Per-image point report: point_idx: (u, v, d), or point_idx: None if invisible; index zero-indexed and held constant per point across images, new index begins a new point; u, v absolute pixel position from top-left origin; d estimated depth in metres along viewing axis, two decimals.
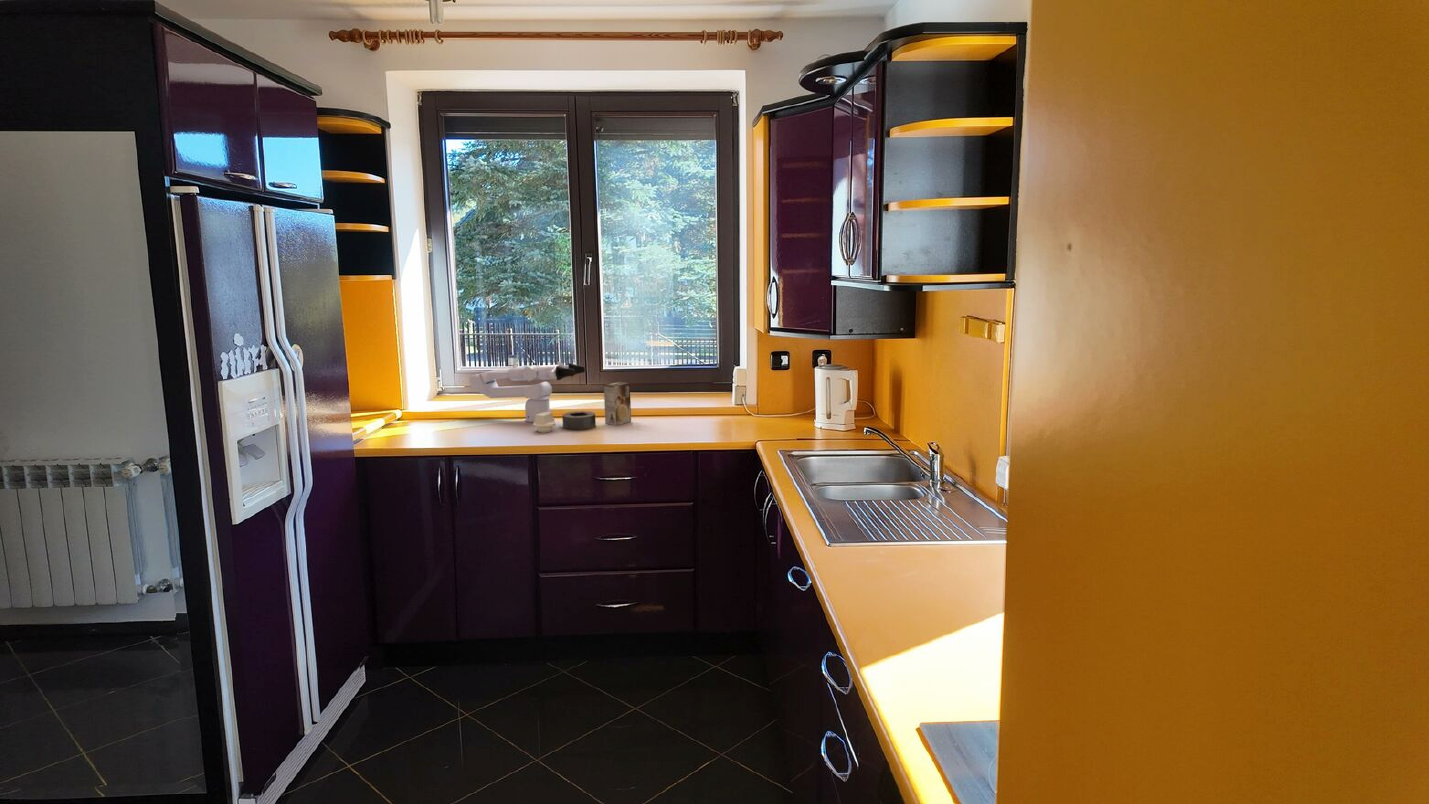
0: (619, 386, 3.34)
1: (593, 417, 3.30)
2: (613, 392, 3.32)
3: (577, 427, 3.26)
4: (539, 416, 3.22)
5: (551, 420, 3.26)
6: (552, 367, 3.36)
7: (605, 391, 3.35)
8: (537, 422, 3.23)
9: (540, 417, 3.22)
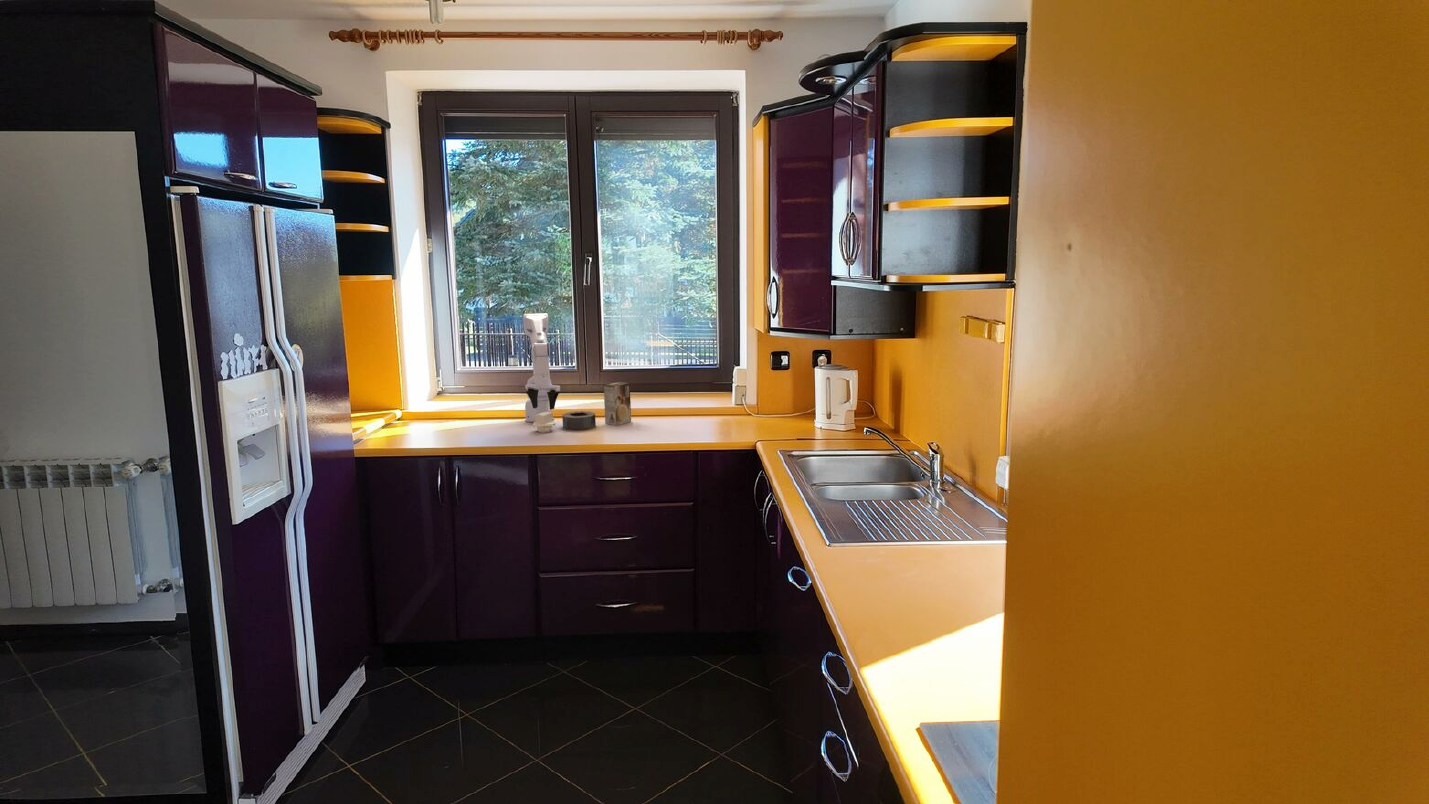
0: (619, 386, 3.34)
1: (593, 417, 3.30)
2: (613, 392, 3.32)
3: (577, 427, 3.26)
4: (539, 416, 3.22)
5: (551, 420, 3.26)
6: (535, 380, 3.21)
7: (605, 391, 3.35)
8: (537, 422, 3.23)
9: (540, 417, 3.22)
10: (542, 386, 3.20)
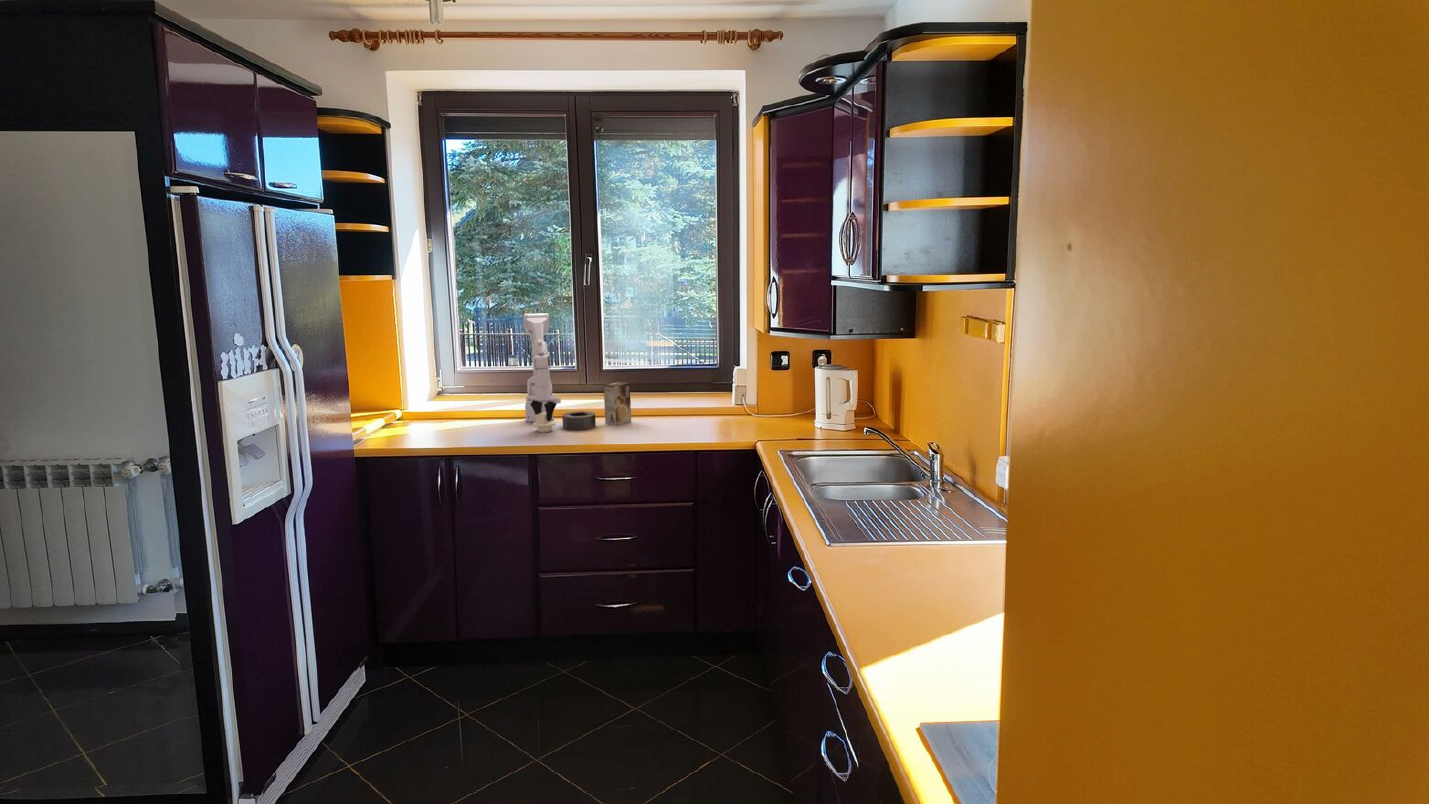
0: (619, 386, 3.34)
1: (593, 417, 3.30)
2: (613, 392, 3.32)
3: (577, 427, 3.26)
4: (539, 416, 3.22)
5: (551, 420, 3.26)
6: (535, 392, 3.22)
7: (605, 391, 3.35)
8: (537, 422, 3.23)
9: (540, 417, 3.22)
10: (543, 398, 3.20)
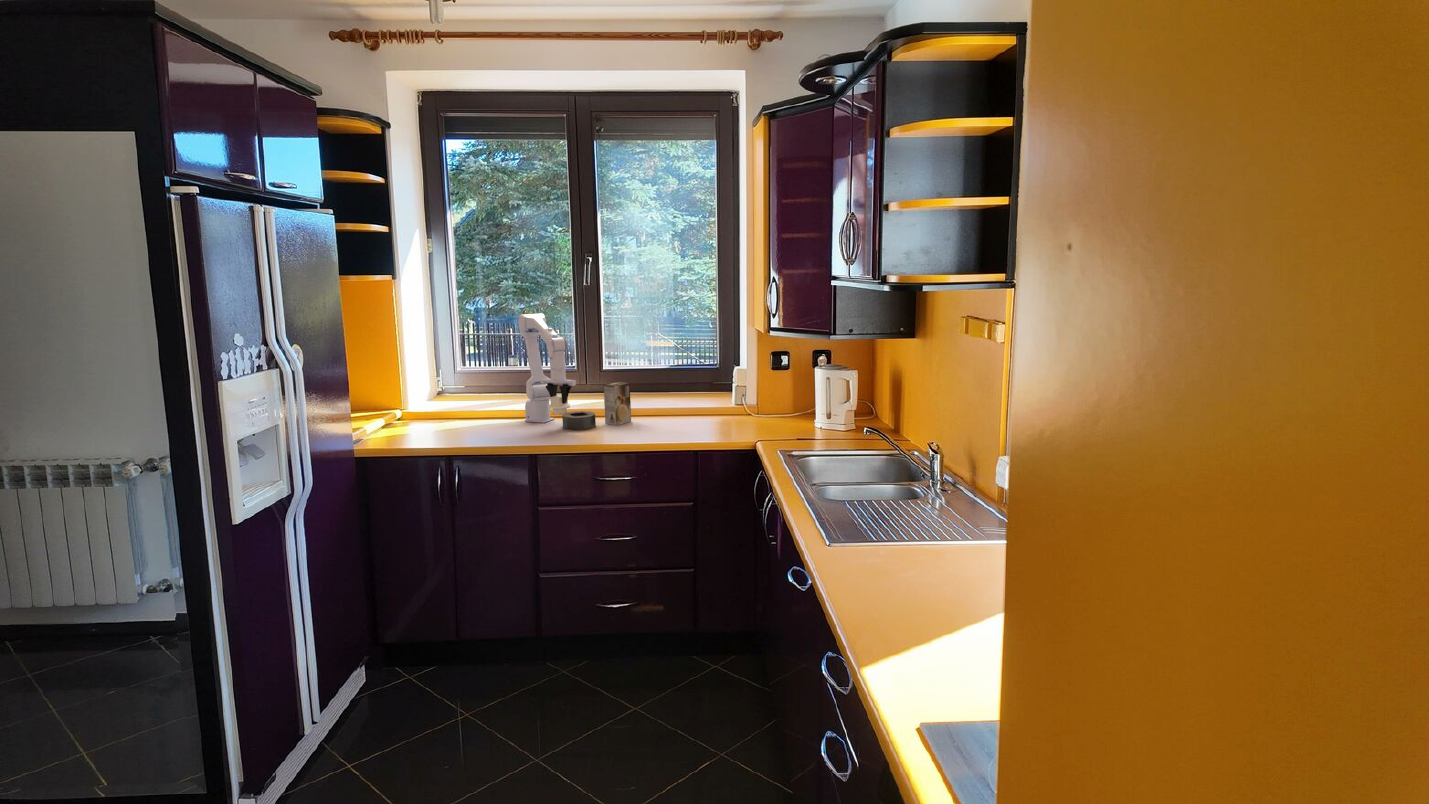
0: (619, 386, 3.34)
1: (593, 417, 3.30)
2: (613, 392, 3.32)
3: (577, 427, 3.26)
4: (554, 399, 3.24)
5: (566, 403, 3.28)
6: (551, 375, 3.24)
7: (605, 391, 3.35)
8: (552, 404, 3.25)
9: (555, 399, 3.24)
10: (558, 380, 3.22)
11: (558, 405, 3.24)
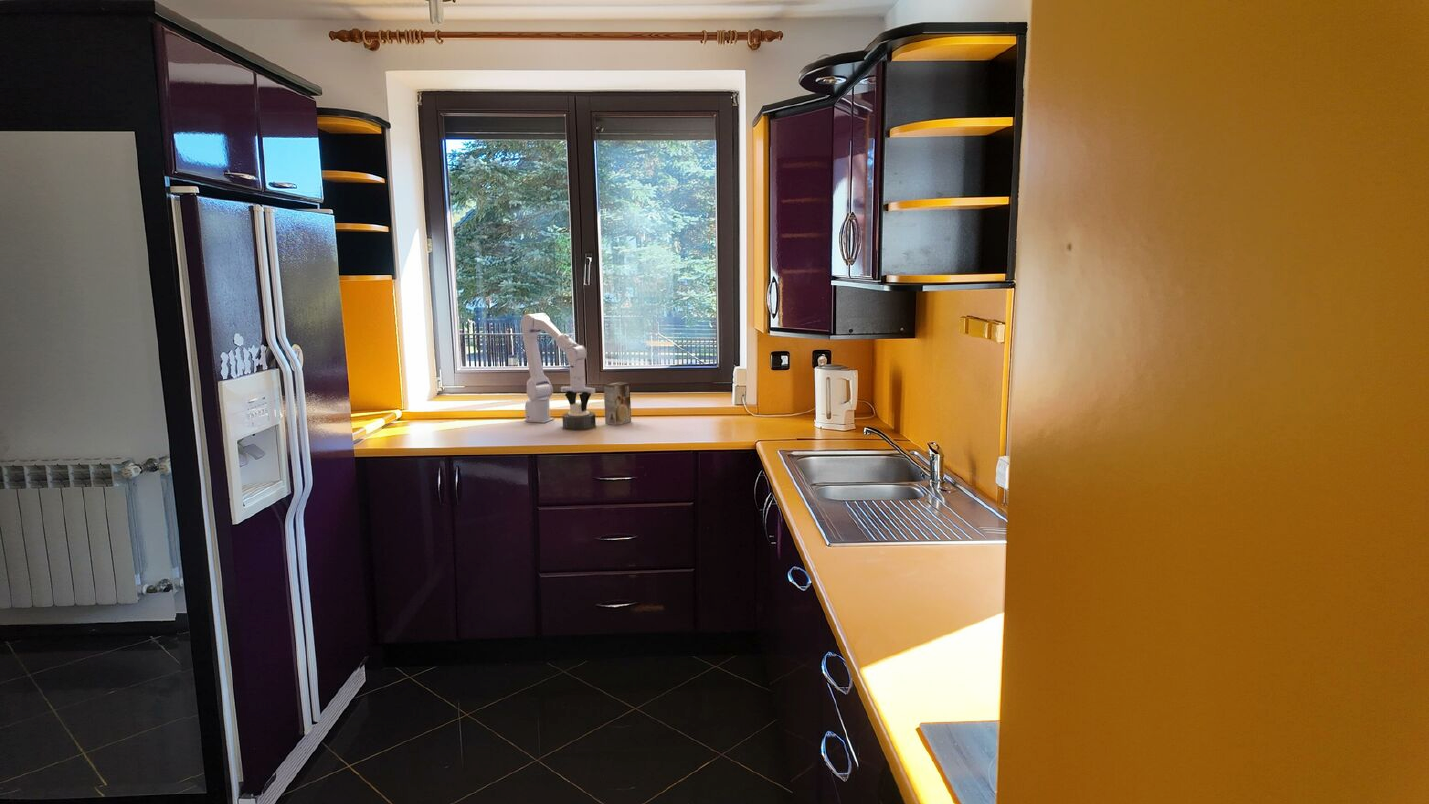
0: (619, 386, 3.34)
1: (593, 417, 3.30)
2: (613, 392, 3.32)
3: (577, 427, 3.26)
4: (574, 406, 3.28)
5: None
6: (570, 383, 3.28)
7: (605, 391, 3.35)
8: (572, 412, 3.29)
9: (575, 407, 3.28)
10: (578, 388, 3.27)
11: (578, 412, 3.28)
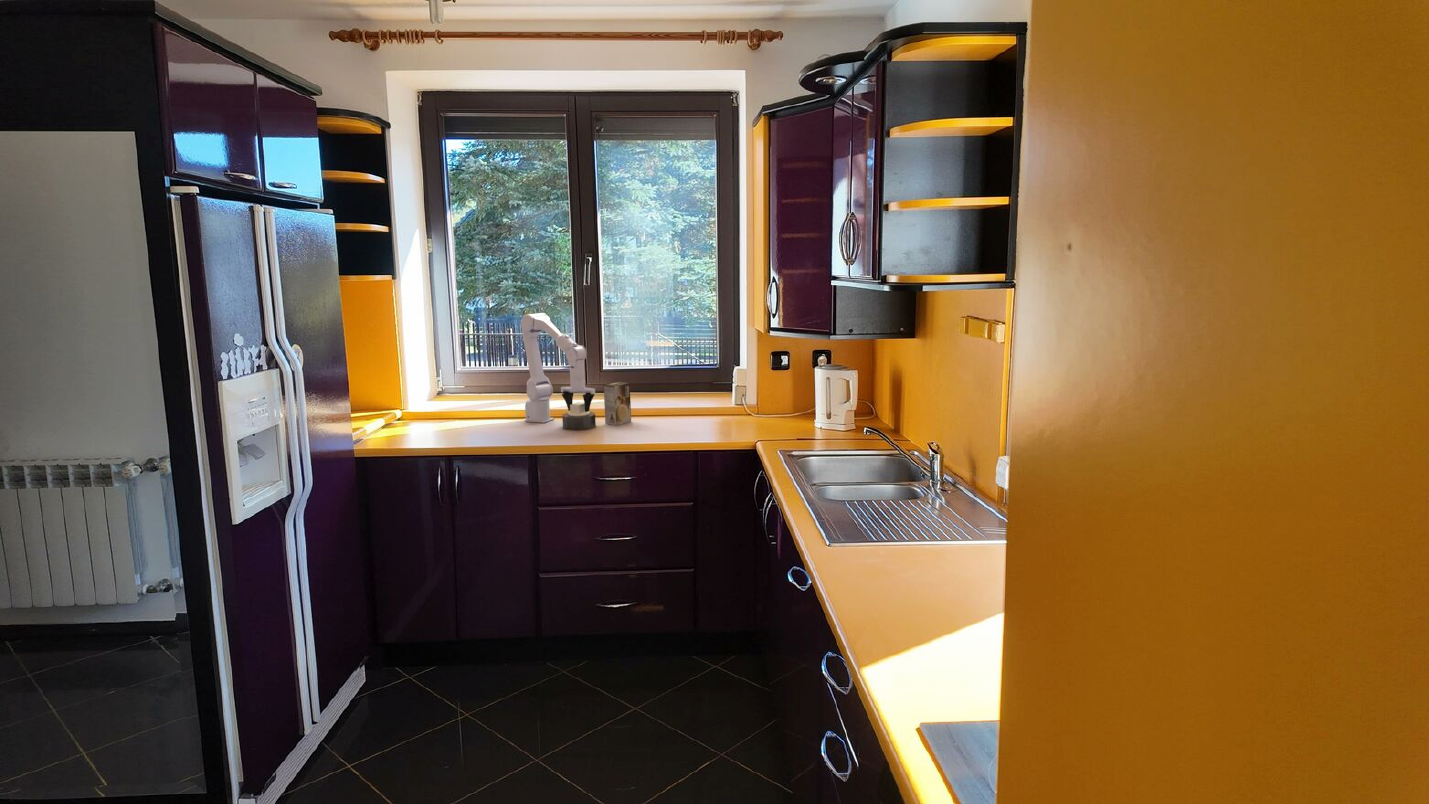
0: (619, 386, 3.34)
1: (593, 417, 3.30)
2: (613, 392, 3.32)
3: (577, 427, 3.26)
4: (574, 406, 3.28)
5: None
6: (570, 383, 3.28)
7: (605, 391, 3.35)
8: (572, 412, 3.29)
9: (575, 407, 3.28)
10: (578, 389, 3.27)
11: (578, 412, 3.28)
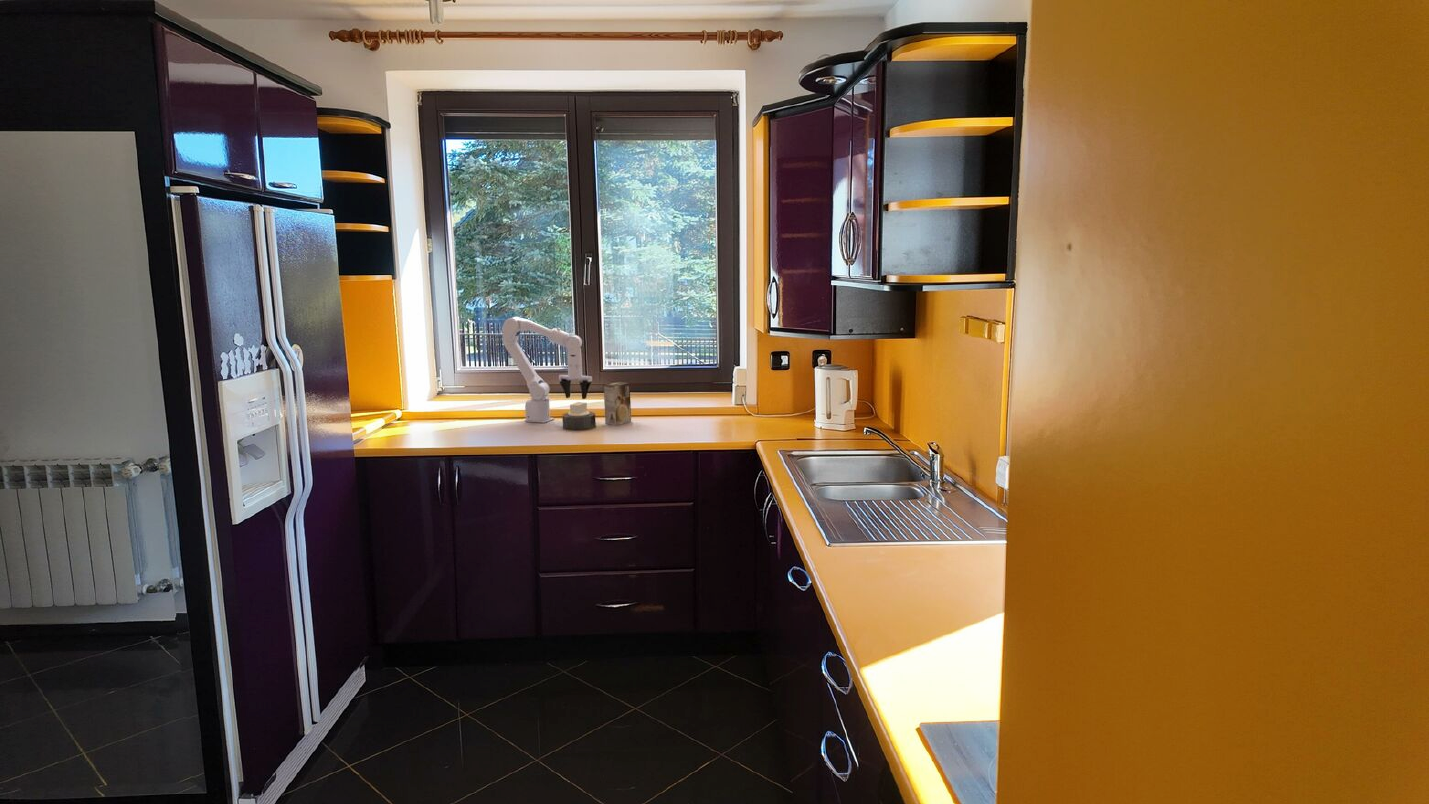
0: (619, 386, 3.34)
1: (593, 417, 3.30)
2: (613, 392, 3.32)
3: (577, 427, 3.26)
4: (574, 406, 3.28)
5: (585, 410, 3.32)
6: (568, 371, 3.39)
7: (605, 391, 3.35)
8: (572, 412, 3.29)
9: (575, 407, 3.28)
10: (575, 377, 3.38)
11: (578, 412, 3.28)
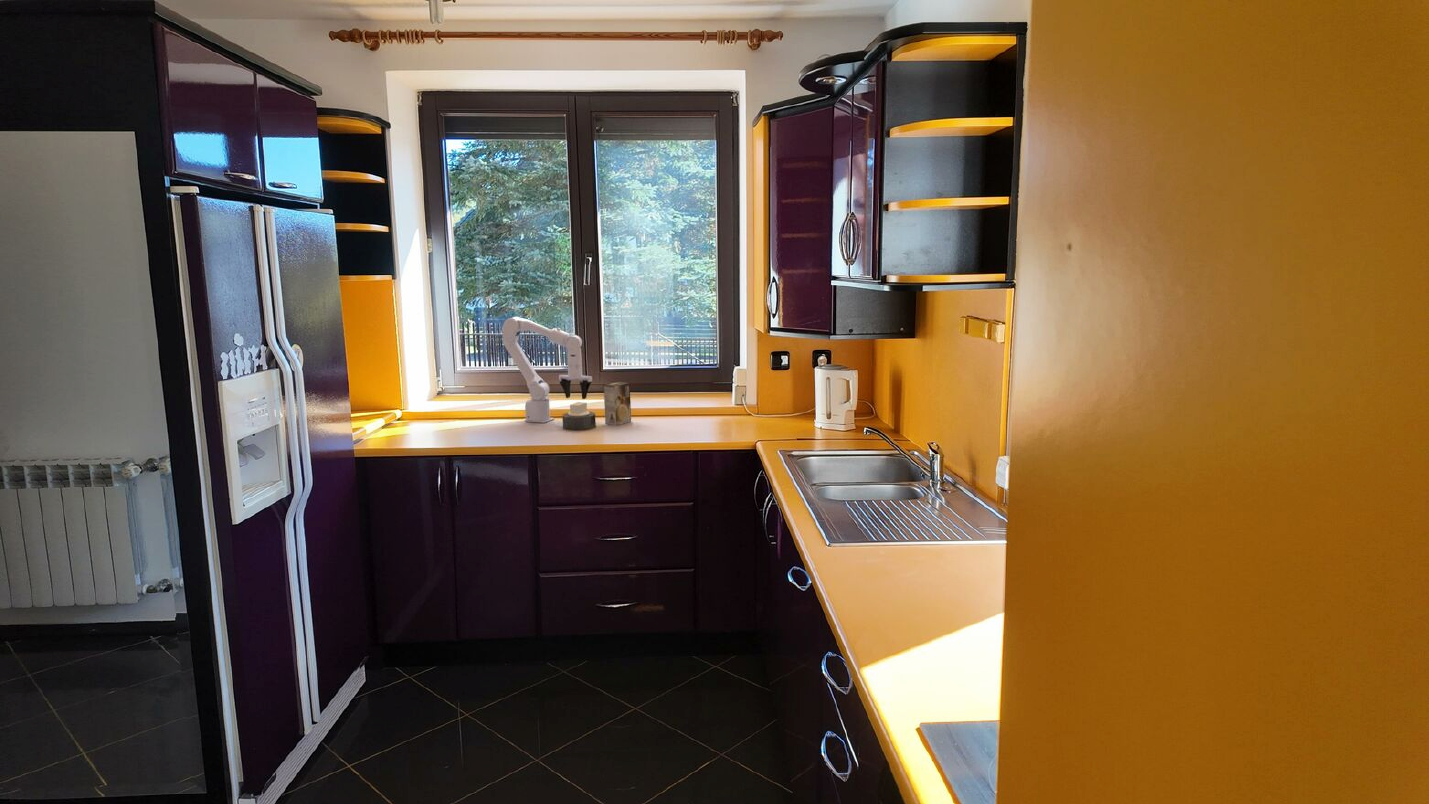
0: (619, 386, 3.34)
1: (593, 417, 3.30)
2: (613, 392, 3.32)
3: (577, 427, 3.26)
4: (574, 406, 3.28)
5: (585, 410, 3.32)
6: (568, 371, 3.39)
7: (605, 391, 3.35)
8: (572, 412, 3.29)
9: (575, 407, 3.28)
10: (575, 377, 3.38)
11: (578, 412, 3.28)
